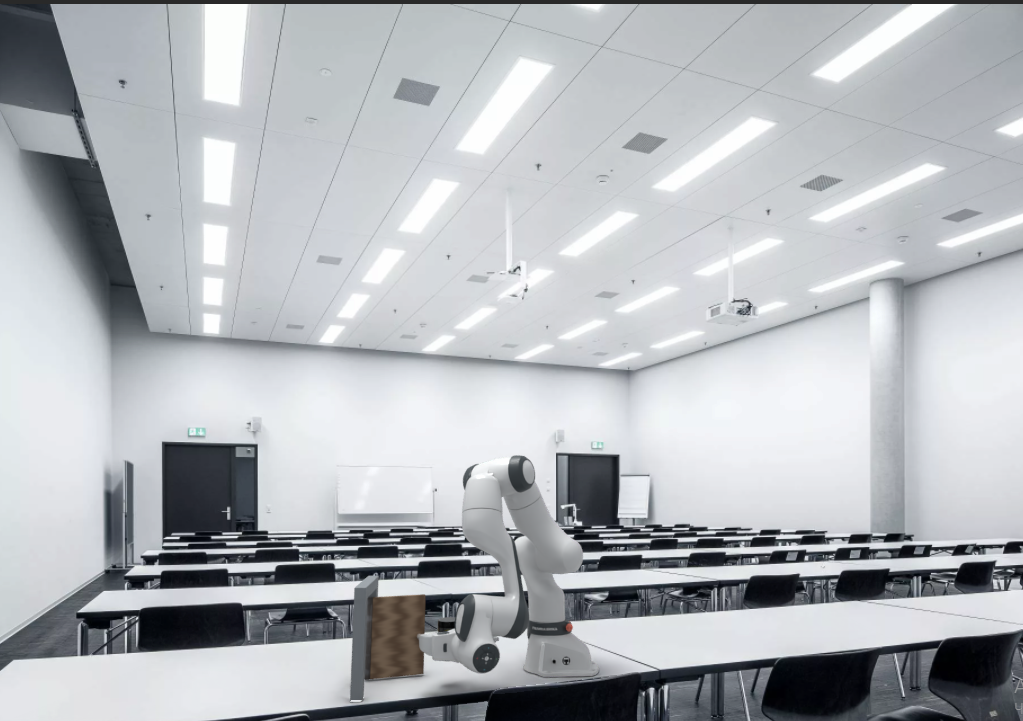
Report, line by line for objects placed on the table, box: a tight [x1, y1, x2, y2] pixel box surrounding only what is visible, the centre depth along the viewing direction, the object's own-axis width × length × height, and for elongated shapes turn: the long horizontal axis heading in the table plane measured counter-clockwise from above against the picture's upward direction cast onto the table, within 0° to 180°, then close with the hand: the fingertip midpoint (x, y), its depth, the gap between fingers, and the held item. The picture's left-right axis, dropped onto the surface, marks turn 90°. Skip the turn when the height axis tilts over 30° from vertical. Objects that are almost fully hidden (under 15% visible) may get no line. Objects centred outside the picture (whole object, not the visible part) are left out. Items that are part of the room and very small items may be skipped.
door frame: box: [349, 575, 380, 702], centre depth 188 cm, size 24×3×28 cm, turn 3°
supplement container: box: [437, 616, 455, 633], centre depth 190 cm, size 7×7×10 cm
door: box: [364, 594, 426, 681], centre depth 197 cm, size 17×3×22 cm, turn 111°
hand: (448, 633), depth 191 cm, fingers closed on supplement container, 7 cm apart
